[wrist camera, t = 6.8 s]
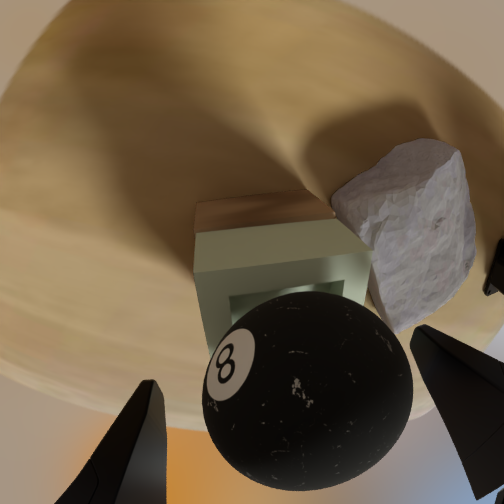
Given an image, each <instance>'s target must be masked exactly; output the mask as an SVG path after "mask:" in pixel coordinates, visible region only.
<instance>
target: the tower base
mask: <svg viewBox="0 0 504 504" xmlns="http://www.w3.org/2000/svg"><path fill="white" fill-rule="evenodd" d="M326 219H335V211H334V210H332V209H331V208H330V207H329V206H327V205H326V204H325V203H324V202H322V201H321V200H320V199H319V198H317V197H316V196H315V195H313V194H312V193H311V192H310V191H308V190H307V189H305V190H295V191H285V192H275V193H266V194H258V195H250V196H241V197H234V198H226V199H219V200H212V201H205V202H198V203H196V211H195V220H194V229H193V231H194V236H195V240H196V233H201V232H209V231H218V230H227V229H236V228H245V227H254V226H264V225H274V224H284V223H294V222H304V221H315V220H326Z"/></svg>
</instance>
